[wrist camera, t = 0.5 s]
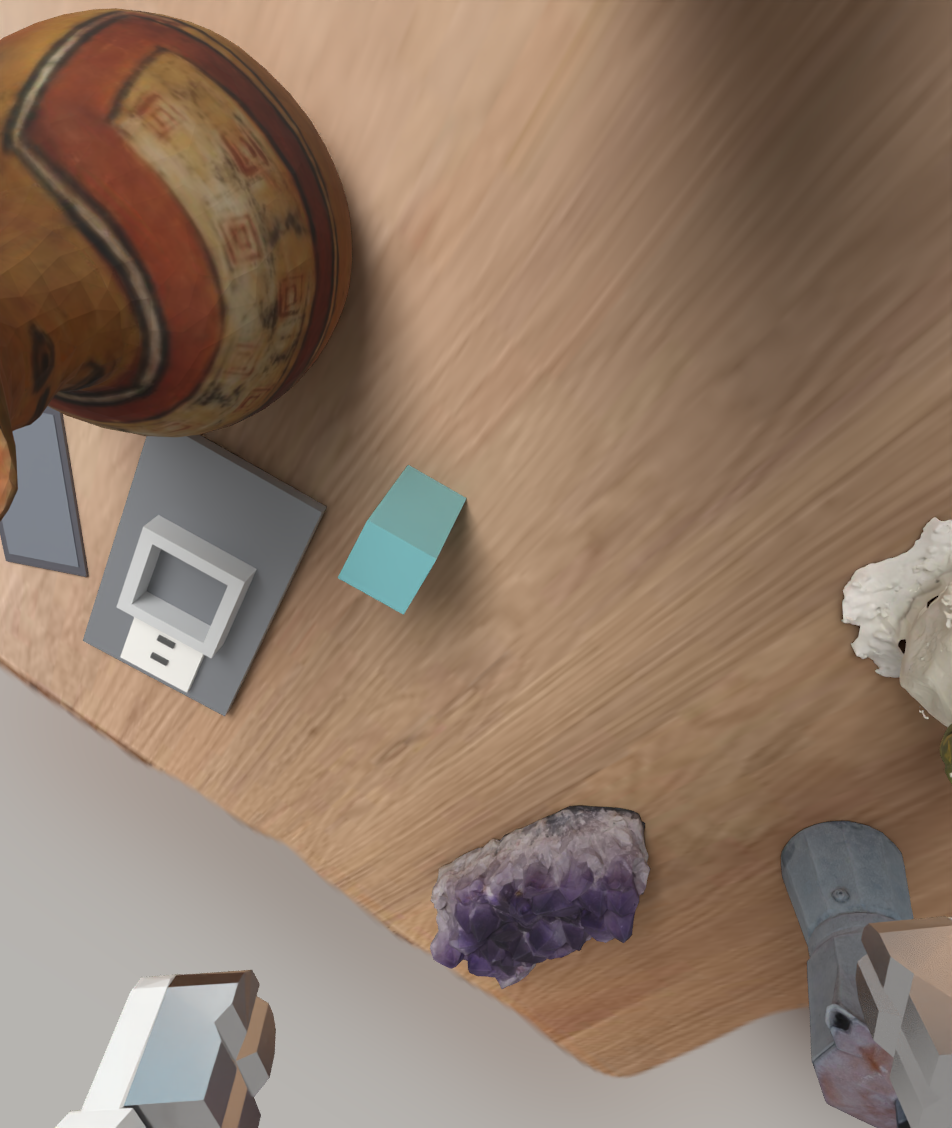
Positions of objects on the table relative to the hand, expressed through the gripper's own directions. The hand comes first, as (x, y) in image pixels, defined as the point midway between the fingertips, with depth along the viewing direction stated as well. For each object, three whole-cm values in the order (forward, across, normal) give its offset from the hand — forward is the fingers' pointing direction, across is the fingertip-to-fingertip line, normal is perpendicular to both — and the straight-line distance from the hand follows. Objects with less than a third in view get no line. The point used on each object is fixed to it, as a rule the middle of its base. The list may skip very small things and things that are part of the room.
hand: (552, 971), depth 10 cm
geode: (+39, +2, +45) cm, 60 cm away
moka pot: (+35, -22, +44) cm, 60 cm away
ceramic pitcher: (+44, +16, -7) cm, 48 cm away
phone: (+47, +36, +9) cm, 60 cm away
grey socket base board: (+44, +25, +17) cm, 53 cm away
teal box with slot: (+41, +7, +12) cm, 44 cm away
